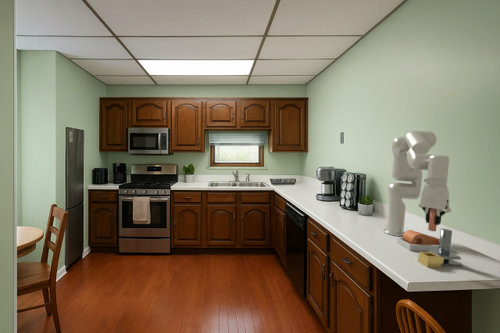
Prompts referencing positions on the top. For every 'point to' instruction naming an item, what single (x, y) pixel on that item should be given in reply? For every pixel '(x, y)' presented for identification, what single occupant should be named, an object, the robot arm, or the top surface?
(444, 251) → the yellow and grey fixture
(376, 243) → the top surface
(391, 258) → the top surface
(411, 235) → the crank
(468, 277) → the top surface
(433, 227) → the pin
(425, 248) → the pipe rack
